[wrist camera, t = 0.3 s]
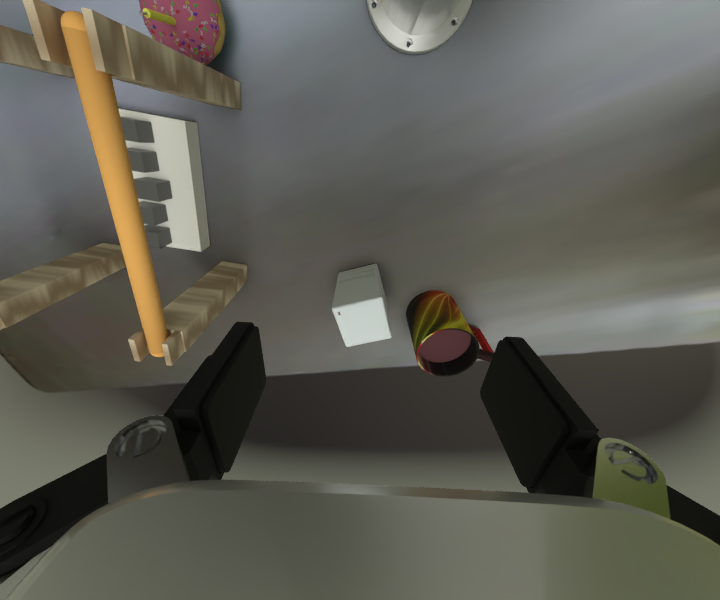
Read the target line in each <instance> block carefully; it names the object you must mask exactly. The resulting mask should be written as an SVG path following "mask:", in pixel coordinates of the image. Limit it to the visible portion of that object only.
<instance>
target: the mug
mask: <svg viewBox="0 0 720 600" xmlns="http://www.w3.org/2000/svg"><path fill="white" fill-rule="evenodd" d="M406 316H407V321H408V325H409V330H410V334H411V338H412V342H413V346H414V350H415V354H416V359H417V362H418V364H419V366H420V367H421V368H422V369H423V370H424V371H425V372H427V373H429V374H432V375H435V376H452V375H456V374H459V373H461V372H463V371H465V370H467V369H468V368H469V367H470V366H472V365H473V363H474V362H475V361H476V359H477V358H478V359H482V360H485V361H489V362H491V361H492V358H493V355H494V352H493V350H492V349H491V347H490V346H489V344H488V342H487V340H486V339H485V337H484V335H483V334H482V332H481V330H480V329H478V328H475V327H472V326H469V325H468V323H467V322H466V320H465V318H464V316H463V315H462V313H461V311H460V309H459V308H458V306H457V304H456V303H455V301H454V299H453V298H452V297H451V296H450V295H448V294H447V293H445V292H442V291H427V292H424V293H421V294H419V295H418V296H416V297H415V298H414V299H413V300H412V301H411V302H410V304H409V305H408V308H407V312H406ZM476 338H477V339H476ZM477 340H478V341H477ZM478 342H479V343H478ZM479 344H480V345H481V347H482V349H483V350H482V349H479Z"/></svg>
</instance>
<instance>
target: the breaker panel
mask: <svg viewBox="0 0 720 600" xmlns="http://www.w3.org/2000/svg"><path fill="white" fill-rule="evenodd" d="M118 109H119V114H120V118H121V123H122V128H123V132H124V137H125V141H126V146H127V150H128V155H129V159H130V164H131V168H132V173H133V178H134V182H135V187H136V191H137V196H138V200H139V205H140V209H141V214H142V219H143V223H144V228H145V232H146V237H147V241H148V246H149V247H152V248H158V249H161V248H162V247H164V246H168V247H174V248H180V249H187V250H193V251H200V252H201V251H203V250H205V249H206V248H208V247H209V246H210V240H209V230H208V221H207V211H206V202H205V193H204V183H203V174H202V164H201V155H200V146H199V136H198V127H197V123H196V122H190V121H185V120H180V119H174V118H169V117H163V116H158V115H153V114H147V113H142V112H137V111H131V110H126V109H120V108H118Z"/></svg>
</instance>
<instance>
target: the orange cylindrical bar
mask: <svg viewBox="0 0 720 600" xmlns="http://www.w3.org/2000/svg"><path fill="white" fill-rule="evenodd" d="M61 27H62V31H63V35H64V38H65V42H66V46H67V50H68V53H69V57H70V61H71V64H72V68H73V72H74V75H75V79H76V83H77V86H78V90H79V94H80V98H81V101H82V105H83V109H84V112H85V116H86V120H87V123H88V127H89V131H90V134H91V138H92V142H93V145H94V149H95V153H96V157H97V160H98V164H99V168H100V171H101V175H102V179H103V182H104V186H105V190H106V193H107V197H108V201H109V205H110V208H111V212H112V216H113V219H114V223H115V227H116V230H117V234H118V238H119V241H120V245H121V249H122V252H123V256H124V260H125V264H126V267H127V271H128V275H129V278H130V282H131V286H132V289H133V293H134V297H135V300H136V304H137V308H138V312H139V315H140V319H141V323H142V326H143V330H144V334H145V337H146V341H147V345H148V348H149V352H150V353H151V355H153V356H155V357H162V356H164V352H163V348H162V343H163V342H164V341H165V340H166V339H167V338H168V332H167V328H166V323H165V319H164V314H163V310H162V305H161V300H160V296H159V291H158V287H157V282H156V278H155V273H154V269H153V264H152V259H151V255H150V250H149V246H148V241H147V237H146V232H145V228H144V223H143V219H142V214H141V209H140V205H139V200H138V196H137V191H136V187H135V182H134V178H133V173H132V168H131V164H130V159H129V155H128V150H127V146H126V141H125V137H124V132H123V128H122V123H121V118H120V114H119V109H118V105H117V100H116V96H115V91H114V87H113V82H112V78H111V74H109V73H105V72H101V71H98V70H96V68H95V63H94V59H93V55H92V51H91V47H90V42H89V38H88V34H87V30H86V26H85V22H84V17H83V14H82V13H79V12H76V11H67V12H65V13H64V14H63V15H62V17H61Z"/></svg>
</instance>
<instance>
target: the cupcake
mask: <svg viewBox="0 0 720 600" xmlns="http://www.w3.org/2000/svg"><path fill="white" fill-rule="evenodd" d="M139 2H140V8H141V11H139V12H141V13H140V14H141V15H142V16H143V19H144V22H145V25H146V26H147V28H148V30H149V32H150V33H151V35H152V37H153V39H154V40H156V41H158V42H160V43H162V44H164V45H166V46H168V47H170V48H172V49H174V50H176V51H178V52H180V53H182V54H184V55H186V56H188V57H190V58H192V59H194V60H196V61H198V62H200V63H202V64H204V65H207V64H209V63H210V62H211V61H212V60H213V59H214V58H215V57H216V56H217V55H218V54H219V53H220V52H221V50H222V47H223V44H224V38H225V32H226V30H225V22H224V17H223V13H222V7H221V2H220V0H139Z"/></svg>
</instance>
